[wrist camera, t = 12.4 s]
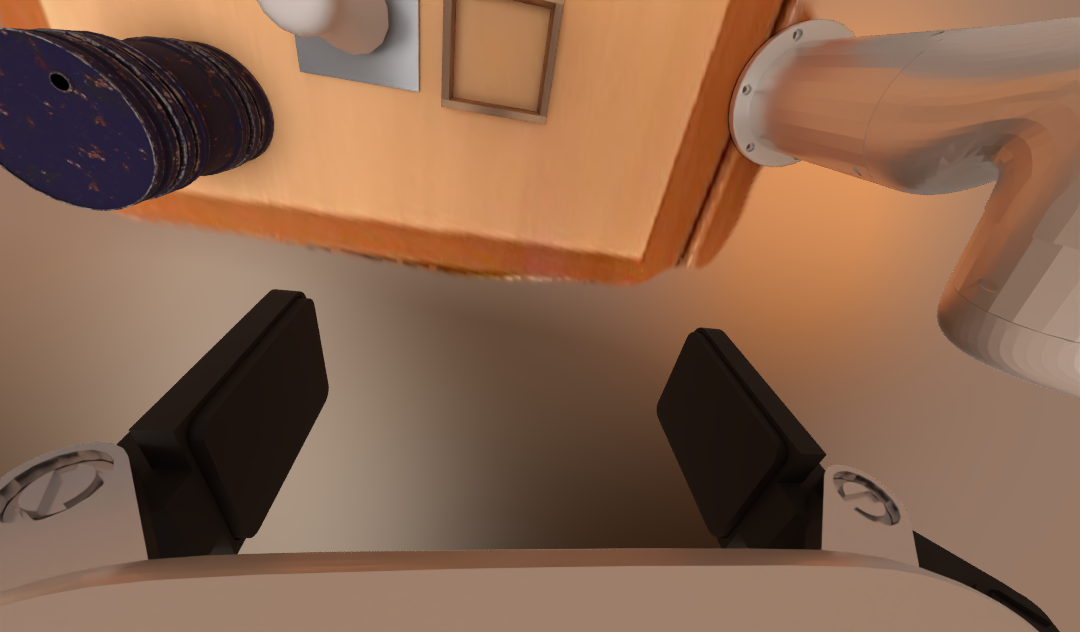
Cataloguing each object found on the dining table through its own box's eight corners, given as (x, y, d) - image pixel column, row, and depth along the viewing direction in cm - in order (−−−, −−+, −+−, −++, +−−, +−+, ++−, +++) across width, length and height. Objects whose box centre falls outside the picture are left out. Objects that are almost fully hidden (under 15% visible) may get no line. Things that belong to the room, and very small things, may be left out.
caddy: (559, 1, 33) (565, -6, 30) (542, 119, 38) (545, 124, 35) (449, -24, 32) (444, -33, 29) (446, 103, 36) (441, 106, 34)
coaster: (419, -54, 30) (417, -56, 30) (419, 91, 36) (418, 91, 35) (281, -85, 29) (277, -88, 28) (303, 71, 34) (300, 71, 34)
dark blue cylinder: (259, 183, 39) (145, 240, 26) (142, 123, 35) (-54, 155, 23) (288, 88, 35) (170, 102, 22) (159, 9, 31) (-68, -27, 19)
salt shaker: (335, -54, 30) (239, -122, 19) (406, 0, 32) (357, -33, 21) (311, 25, 32) (214, 5, 21) (378, 70, 34) (322, 73, 23)
